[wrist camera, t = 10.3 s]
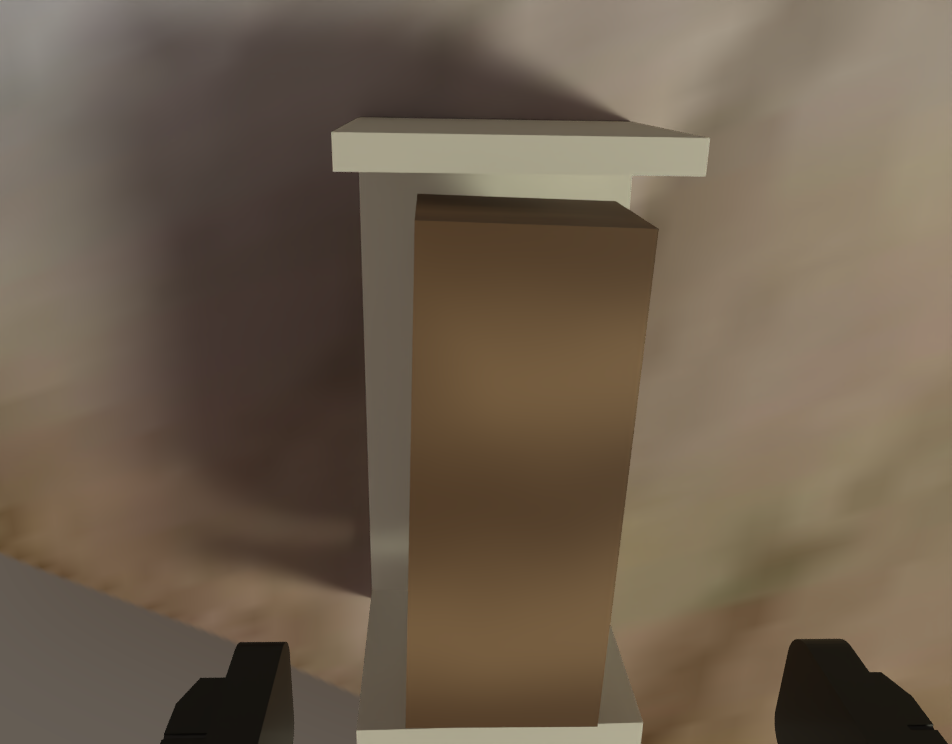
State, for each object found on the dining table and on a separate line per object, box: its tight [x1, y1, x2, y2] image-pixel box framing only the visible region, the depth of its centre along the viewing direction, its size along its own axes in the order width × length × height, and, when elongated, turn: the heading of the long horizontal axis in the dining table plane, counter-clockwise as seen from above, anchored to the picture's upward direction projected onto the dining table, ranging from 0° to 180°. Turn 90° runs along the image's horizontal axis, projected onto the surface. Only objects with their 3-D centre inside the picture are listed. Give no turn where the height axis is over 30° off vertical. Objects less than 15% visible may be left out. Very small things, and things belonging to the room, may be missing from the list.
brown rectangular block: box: [405, 194, 659, 728], centre depth 20 cm, size 13×5×4 cm, turn 177°
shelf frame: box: [331, 117, 710, 744], centre depth 23 cm, size 17×8×7 cm, turn 179°
